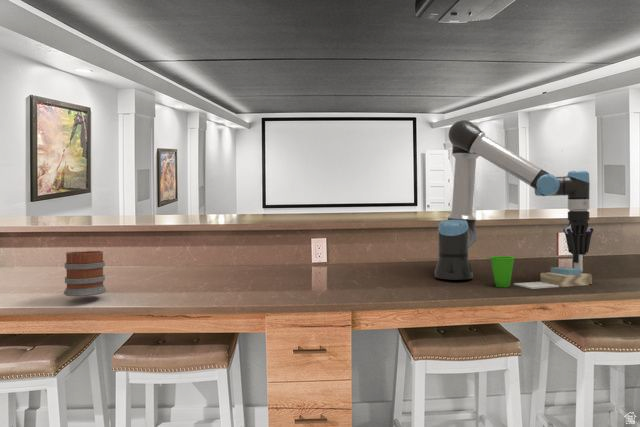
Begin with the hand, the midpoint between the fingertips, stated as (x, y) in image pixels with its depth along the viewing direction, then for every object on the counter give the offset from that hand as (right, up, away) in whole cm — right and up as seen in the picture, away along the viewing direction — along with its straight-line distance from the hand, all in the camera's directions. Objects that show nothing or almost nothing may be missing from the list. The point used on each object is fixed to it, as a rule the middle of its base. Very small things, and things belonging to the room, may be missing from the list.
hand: (578, 271), depth 194 cm
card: (-6, -1, -2) cm, 6 cm away
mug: (-186, -7, -12) cm, 186 cm away
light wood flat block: (-6, -5, -2) cm, 8 cm away
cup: (-32, -5, -6) cm, 33 cm away
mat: (-19, -5, -6) cm, 21 cm away
